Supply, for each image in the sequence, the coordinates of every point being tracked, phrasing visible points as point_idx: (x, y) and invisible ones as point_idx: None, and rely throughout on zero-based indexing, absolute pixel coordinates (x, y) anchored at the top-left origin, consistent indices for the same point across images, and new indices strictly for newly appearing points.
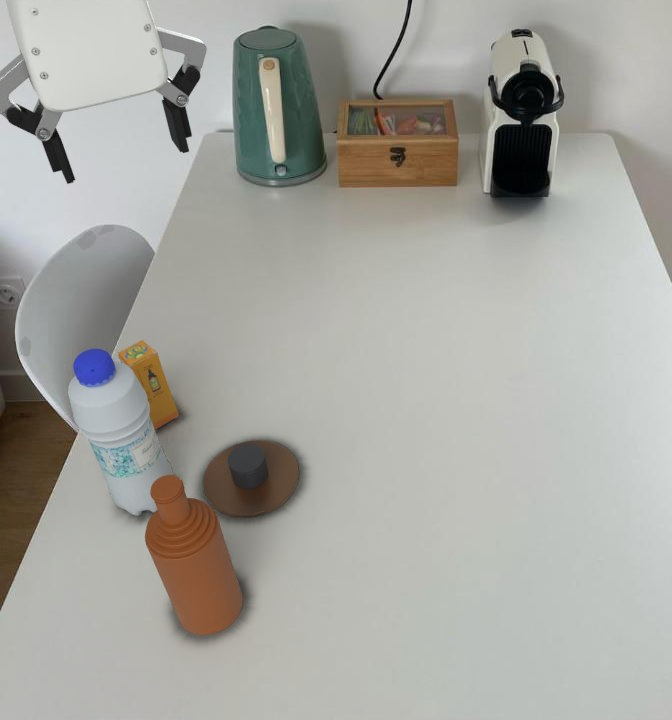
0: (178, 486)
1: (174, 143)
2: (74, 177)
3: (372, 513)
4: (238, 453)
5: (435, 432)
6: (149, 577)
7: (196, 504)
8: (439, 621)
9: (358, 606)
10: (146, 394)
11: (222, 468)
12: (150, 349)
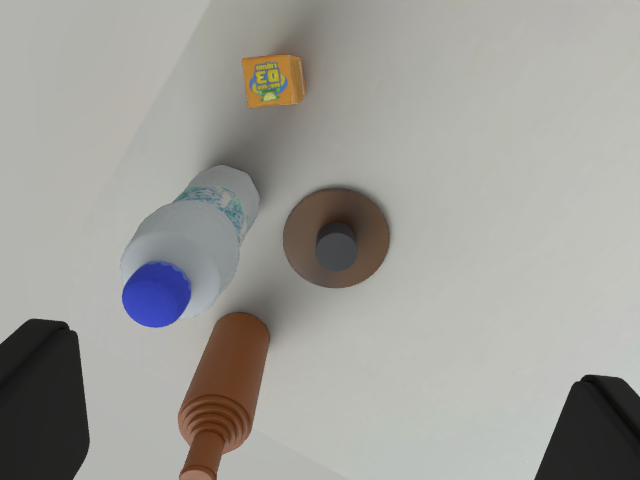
0: None
1: (560, 420)
2: (80, 466)
3: (411, 338)
4: (332, 241)
5: (532, 295)
6: None
7: (233, 434)
8: (389, 436)
9: (345, 398)
10: (236, 265)
11: (314, 214)
12: (290, 92)
